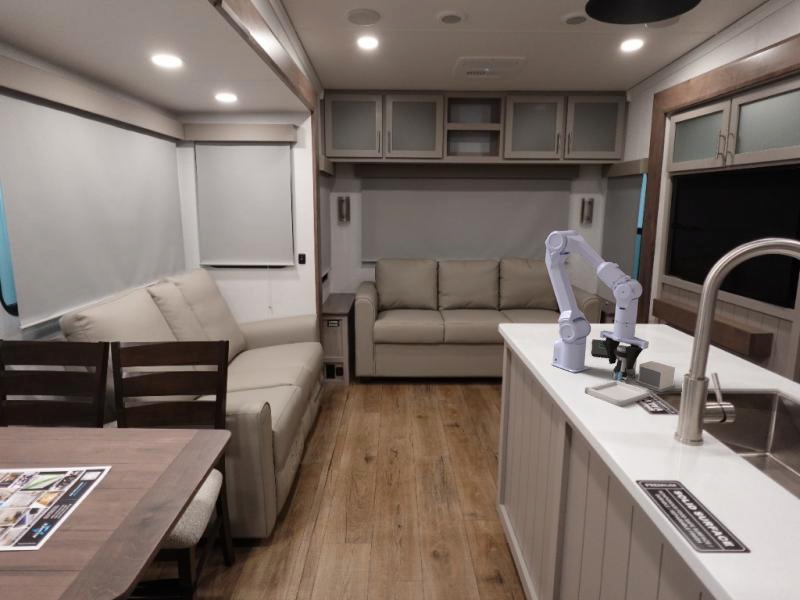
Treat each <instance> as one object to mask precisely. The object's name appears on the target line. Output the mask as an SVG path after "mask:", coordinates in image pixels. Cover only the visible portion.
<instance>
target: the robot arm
mask: <svg viewBox="0 0 800 600" xmlns="http://www.w3.org/2000/svg"><path fill="white" fill-rule="evenodd" d="M544 244H545V248H546V250H545V257H544V258H545V259H544V261H545V265H546V269H547V272H548V275H549V279H550V282H551V285H552V288H553V291H554V295H555V298H556V302H557V304H558V305H557V306H558V309H559V312H560V315H559V317H558V320H557V322H558V324H559V325H558V327H559V328H558V334H559V337H558V338H557V339H556V340H555V342H554V344H553V355H552V362H551V363H550V365H551V366H553V367H557V368H559V369H561V370H562V369H563V370H566V371H568V372H570V373H574V374H575V373H579V372H582V371H587V370H589V369H591V367H590V366H588V365H585V364H586V363H585V361H586V348H587V337H588V336H589V335H590V334H591V332H592V325H591V323H590V322H589V320H588V319H587V318H586V316H585V313H584V312H582V310H580V309H579V306H578V304H577V299H576V296H575V293H574V291H573V290H574V289H573V288H572V284H571V280H570V278H569V274H568V271H567V268H566V265H565V262H566V259H567V258H568V257H569V255H570V254H571V253H572V254H577V255H578V256H579V257H581V259H583V260H584V261H586V263H588V264H589V265H590V266H592V267H593V269H595V270H596V277H598V278H599V279H600V280H601V281H602V282H603V283H604V284H605V285H606V286H607V287H608V288H609V289H611V291H612V292H613V293H612V294H613V296H614V298H615V300H616V303H615V313H614V322H613V324H614V325H613V331H608V330H601V331H599V332H600V333H599V334H600V336H599V338H602V339H603V340H604V341H603V344H604V346H605V348H606V350H607V354H608V358H607V359H608V362H609V363H608V364H609V365H614V364H617V359H618V357H617V356H616V355H614V348H617V346H619V345H620V343H622V344H623V343H624V344H627V345H628V346H627V345H626V346H627V347H626V353H627V364H626V368H627V369H628V370H630V369H633V366H634V364H635V361H636V359H637V360H638V358H639V355H640V354H641V353H642V352H643V351H644V350H646V349H649V343H650V341H648V340H644V339H642V338H640V337H637V336H635V335H636V326H637V316H638V303H639V298H640V297H641V295H642V294H643V286H642V284H641V283H640V282H639V281H638V280H637V279H633V278H632V277H631V276H630V275H628V274H627V275H626V273H624V272H623V270H622V269H620V268H619V267H620V265H619V264H618V263H616V262H615V263H613V262H612V261H607V262H606V261H605V260H604V258H602V257H601V256H600V255H599V254H598V253H597V252H596V251H595V250H594V248H593V247H591V245H589V244H588V243H587V241H586V240H585V238H584V237H583V236H582V235H580V234H579V233H578V232H577V231H575V230H573V229H568V230H553V231H551V232H550V234H549V235H548V236H547V238H546V240H545V241H544ZM631 278H632V279H631Z"/></svg>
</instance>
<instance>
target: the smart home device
mask: <svg viewBox="0 0 800 600" xmlns="http://www.w3.org/2000/svg"><path fill="white" fill-rule="evenodd" d="M604 340H605V339H596V338H595V339H592V340H591V351H590V352H591V355H592V356H593V358H600V357H601V358H602V359H609V358H608V354H607V350H606V348H605V346H604V344H603V341H604ZM592 356H591V357H592Z"/></svg>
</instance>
